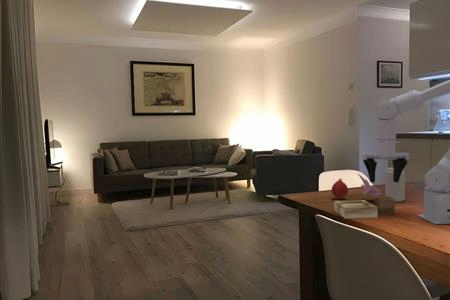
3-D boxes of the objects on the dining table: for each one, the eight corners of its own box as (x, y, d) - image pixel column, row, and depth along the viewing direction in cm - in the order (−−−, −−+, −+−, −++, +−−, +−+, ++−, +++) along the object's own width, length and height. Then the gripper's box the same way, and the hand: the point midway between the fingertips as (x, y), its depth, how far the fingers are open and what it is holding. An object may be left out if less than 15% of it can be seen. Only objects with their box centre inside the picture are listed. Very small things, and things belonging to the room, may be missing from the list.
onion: (330, 200, 139) (330, 179, 138) (333, 197, 144) (333, 177, 143) (346, 201, 136) (346, 180, 135) (349, 198, 141) (349, 177, 140)
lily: (379, 210, 127) (391, 185, 128) (346, 194, 131) (358, 170, 132) (376, 213, 138) (387, 189, 139) (346, 198, 142) (357, 176, 143)
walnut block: (394, 214, 117) (394, 199, 116) (380, 215, 117) (380, 199, 116) (387, 211, 121) (387, 196, 121) (373, 211, 121) (373, 196, 121)
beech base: (377, 217, 113) (377, 207, 113) (345, 218, 113) (345, 207, 113) (364, 209, 123) (364, 200, 123) (334, 210, 123) (334, 200, 123)
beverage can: (406, 202, 133) (407, 169, 132) (387, 202, 134) (387, 169, 133) (401, 199, 139) (402, 167, 138) (383, 198, 140) (384, 167, 139)
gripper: (401, 138, 121) (400, 179, 123) (357, 138, 121) (356, 180, 122) (413, 139, 114) (411, 183, 116) (366, 140, 114) (365, 183, 115)
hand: (384, 182), depth 118 cm, fingers open, 7 cm apart
